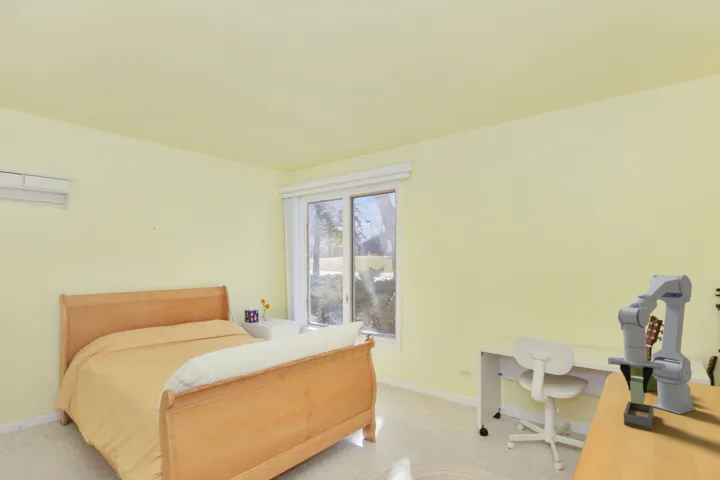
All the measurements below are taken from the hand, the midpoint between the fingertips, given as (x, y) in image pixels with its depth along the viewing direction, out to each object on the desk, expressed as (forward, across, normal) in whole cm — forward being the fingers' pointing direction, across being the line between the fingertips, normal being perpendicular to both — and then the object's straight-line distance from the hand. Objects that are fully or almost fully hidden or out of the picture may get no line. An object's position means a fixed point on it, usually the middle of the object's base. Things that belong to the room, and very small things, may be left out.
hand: (637, 391), depth 119 cm
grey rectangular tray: (+9, 0, 0) cm, 9 cm away
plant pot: (+9, 0, +38) cm, 39 cm away
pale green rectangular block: (+2, 0, 0) cm, 2 cm away
